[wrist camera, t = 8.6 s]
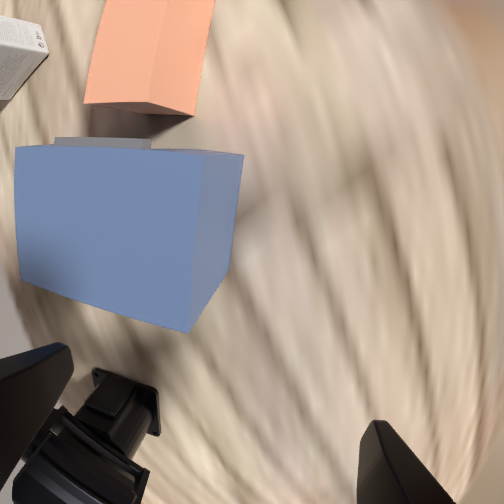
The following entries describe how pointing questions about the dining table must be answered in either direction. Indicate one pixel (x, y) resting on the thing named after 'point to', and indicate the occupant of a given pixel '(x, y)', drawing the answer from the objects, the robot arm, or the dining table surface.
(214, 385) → the dining table surface
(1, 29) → the skincare box
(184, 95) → the salmon pink prism
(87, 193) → the block
